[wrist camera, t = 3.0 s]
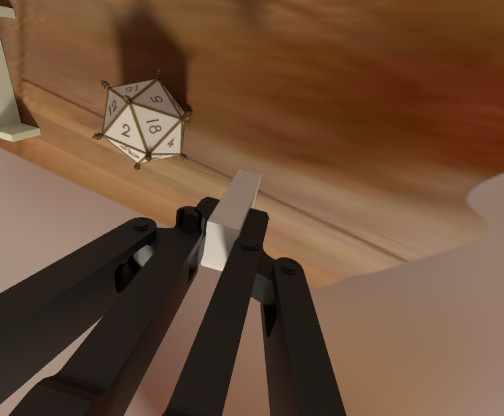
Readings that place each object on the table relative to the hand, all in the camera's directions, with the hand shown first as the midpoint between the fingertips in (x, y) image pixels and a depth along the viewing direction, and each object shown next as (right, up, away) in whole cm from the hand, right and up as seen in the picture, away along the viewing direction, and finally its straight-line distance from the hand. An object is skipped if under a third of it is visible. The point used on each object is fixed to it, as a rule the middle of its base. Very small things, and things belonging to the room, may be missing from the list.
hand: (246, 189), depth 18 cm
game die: (-9, +9, +11) cm, 16 cm away
